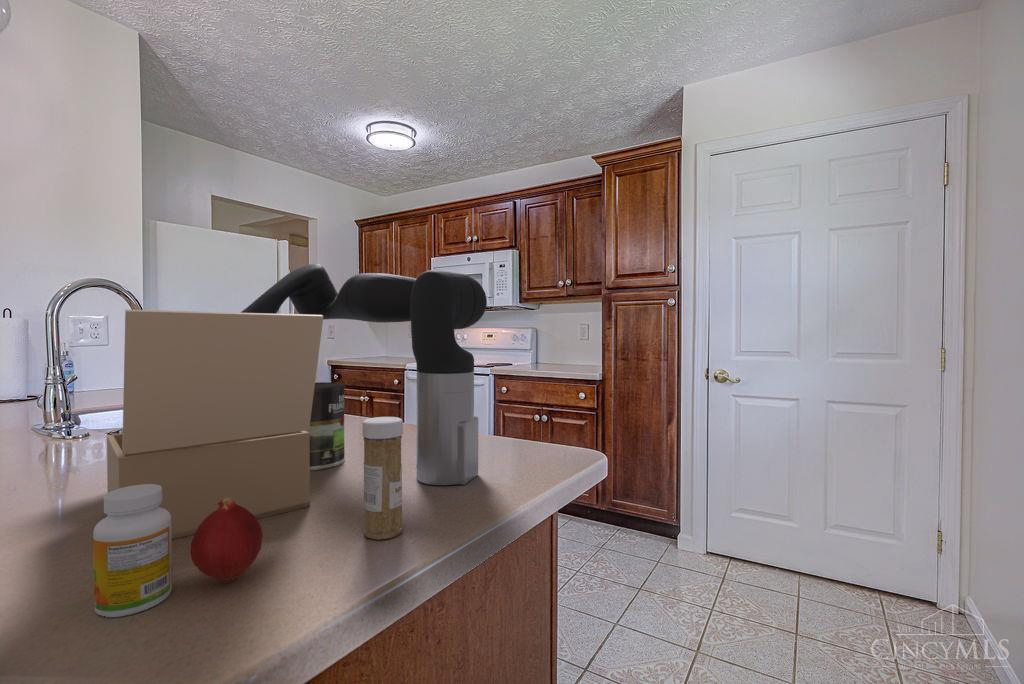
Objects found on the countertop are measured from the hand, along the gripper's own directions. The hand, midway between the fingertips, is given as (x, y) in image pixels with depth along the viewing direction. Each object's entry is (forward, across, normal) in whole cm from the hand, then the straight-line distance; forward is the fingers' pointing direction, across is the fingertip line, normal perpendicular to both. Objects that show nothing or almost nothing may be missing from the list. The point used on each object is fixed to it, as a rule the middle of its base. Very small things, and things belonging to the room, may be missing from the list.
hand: (227, 389), depth 57 cm
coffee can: (-24, +19, +16) cm, 34 cm away
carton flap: (+1, 0, -1) cm, 2 cm away
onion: (+12, -3, +17) cm, 21 cm away
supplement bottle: (+10, -10, +17) cm, 23 cm away
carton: (-10, 0, +16) cm, 19 cm away
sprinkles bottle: (+12, +13, +17) cm, 25 cm away
